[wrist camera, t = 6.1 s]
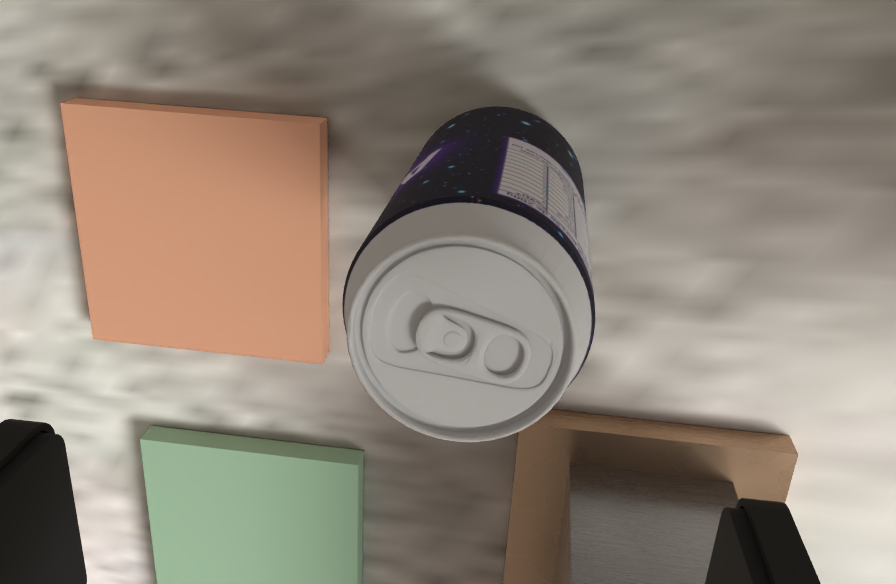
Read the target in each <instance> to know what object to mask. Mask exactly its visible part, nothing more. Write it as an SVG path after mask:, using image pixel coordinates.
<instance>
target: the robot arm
mask: <svg viewBox="0 0 896 584" xmlns="http://www.w3.org/2000/svg"><path fill="white" fill-rule="evenodd" d="M0 584H87V575H86V569H85V563H84V556H83V550H82V544H81V538H80V532H79V526H78V520H77V514H76V508H75V502H74V496H73V490H72V484H71V478H70V472H69V466H68V460H67V453H66V447H65V443H64V439H63V438H62V436H60V435H58V434H55V432H54V429H53V428H52V426H51V425H50V424H47V423H43V422H33V421H24V420H15V419H8V420H4V421H3V422H1V423H0ZM705 584H820V581H819V579H818V576H817V574H816V572H815V569H814V567H813V565H812V562H811V560H810V558H809V555H808V553H807V551H806V548H805V546H804V544H803V541H802V539H801V536H800V534H799V532H798V529H797V527H796V525H795V522H794V520H793V518H792V515H791V513H790V511H789V508H788V507H787V505H786V504H785V503H783V502H776V501H767V500H758V499H748V498H741V499H739V501H738V502H737V504H736V508H731V507H725V508H724V509H723V511H722V513H721V517H720V521H719V525H718V530H717V534H716V538H715V542H714V547H713V551H712V555H711V559H710V564H709V568H708V572H707V576H706V581H705Z"/></svg>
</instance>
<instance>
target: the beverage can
mask: <svg viewBox="0 0 896 584" xmlns="http://www.w3.org/2000/svg"><path fill="white" fill-rule="evenodd" d="M343 318H344V325H345V330H346V334H347V344H348V351H349V355H350V358H351V361H352V365H353V368H354V370H355V372H356V374H357V376H358V378H359V381H360V382H361V384H362V385H363V387H364V388H365V390H366V391H367V393H368V394H369V396H370V397H371V398H372V399H373V400H374V401H375V402H376V403H377V404H378V405H379V407H380V408H382V409H383V410H384V411H385V412H386V413H388V414H389V415H390V416H391V417H393V418H394V419H395V420H397V421H399V422H400V423H402V424H404V425H405V426H407V427H409V428H411V429H413V430H415V431H417V432H420V433H422V434H424V435H428V436H431V437H435V438H438V439H443V440H449V441H455V442H481V441H490V440H494V439H498V438H502V437H506V436H509V435H512V434H514V433H516V432H519V431H521V430H523V429H525V428H527V427H528V426H530V425H532V424H533V423H535V422H537V421H538V420H539V419H540V418H542V417H543V416H544V415H545V414H546V413H547V412H549V411H550V410H551V409H552V407H553V406H554V405H555V404H556V403H557V402H558V400H559V399H560V398H561V396H562V395H563V393H564V392H565V390H566V388H567V387H568V386H569V385H570V384H571V383H572V381H573V380H574V379H575V377H576V376H577V374H578V373H579V371H580V370H581V368H582V366H583V364H584V362H585V360H586V358H587V356H588V353H589V350H590V347H591V344H592V340H593V335H594V328H595V305H594V294H593V284H592V273H591V262H590V252H589V241H588V230H587V220H586V209H585V198H584V188H583V179H582V173H581V169H580V166H579V163H578V160H577V158H576V155H575V154H574V152H573V150H572V148H571V147H570V145H569V144H568V142H567V141H566V140H565V138H564V137H563V136H562V135H561V134H560V133H559V132H558V131H557V130H556V129H555V128H554V127H553V126H551V125H550V124H549V123H547V122H546V121H544V120H543V119H541V118H539V117H537V116H535V115H533V114H531V113H528V112H526V111H522V110H519V109H514V108H509V107H485V108H479V109H475V110H471V111H468V112H466V113H463V114H461V115H459V116H457V117H455V118H453V119H451V120H450V121H448V122H447V123H445V124H444V125H443V126H442V127H440V128H439V129H438V130H437V131H436V132H435V133H434V134H433V135H432V137H431V138H430V139H429V140H428V142H427V143H426V145H425V146H424V148H423V149H422V151H421V153H420V154H419V156H418V157H417V159H416V160H415V162H414V164H413V165H412V167H411V168H410V170H409V172H408V173H407V175H406V176H405V178H404V179H403V181H402V183H401V184H400V186H399V187H398V189H397V191H396V192H395V194H394V195H393V197H392V198H391V200H390V202H389V203H388V205H387V206H386V208H385V209H384V211H383V213H382V214H381V216H380V217H379V219H378V221H377V222H376V224H375V225H374V227H373V228H372V230H371V232H370V233H369V235H368V236H367V238H366V240H365V241H364V243H363V244H362V246H361V247H360V249H359V251H358V252H357V254H356V256H355V258H354V260H353V261H352V264H351V266H350V269H349V271H348V274H347V278H346V282H345V286H344V293H343Z"/></svg>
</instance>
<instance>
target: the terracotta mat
mask: <svg viewBox="0 0 896 584" xmlns="http://www.w3.org/2000/svg"><path fill="white" fill-rule="evenodd" d="M60 105H61V112H62V120H63V127H64V134H65V141H66V148H67V155H68V163H69V170H70V177H71V184H72V191H73V199H74V206H75V213H76V220H77V227H78V234H79V242H80V249H81V256H82V263H83V270H84V278H85V285H86V292H87V299H88V306H89V313H90V321H91V328H92V335H93V339H96V340H105V341H114V342H123V343H133V344H142V345H151V346H160V347H169V348H179V349H188V350H197V351H206V352H216V353H225V354H234V355H243V356H252V357H262V358H271V359H280V360H289V361H298V362H308V363H317V364H323V362H324V360H325V358H326V357H327V355H328V353H329V256H328V121H327V118H322V117H309V116H297V115H284V114H272V113H259V112H247V111H234V110H222V109H210V108H197V107H185V106H172V105H160V104H147V103H135V102H122V101H110V100H98V99H85V98H74V99H71V100H68V101H65V102H62V103H60Z"/></svg>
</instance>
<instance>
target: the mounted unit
mask: <svg viewBox="0 0 896 584" xmlns="http://www.w3.org/2000/svg"><path fill="white" fill-rule="evenodd" d="M797 457H798V453H797V451H796V449H795V447H794V444H793V442H792V440H791V438H790V436H786V435H777V434H768V433H759V432H750V431H741V430H732V429H723V428H714V427H705V426H695V425H686V424H677V423H668V422H659V421H650V420H641V419H632V418H623V417H614V416H605V415H596V414H587V413H578V412H569V411H560V410H550V411H549V412H547V413H546V414H545V415H544V416H543V417H542V418H540V419H539V420H538V421H537V422H535V423H533V424H532V425H530V426H528V427H527V428H525V429H523V430H521V431H519V432H518V441H517V451H516V461H515V470H514V480H513V490H512V499H511V509H510V519H509V528H508V538H507V547H506V557H505V567H504V576H503V584H705V581H706V576H707V572H708V568H709V564H710V559H711V555H712V551H713V547H714V542H715V538H716V534H717V530H718V525H719V521H720V517H721V513H722V511H723V509H724V508H725V507H731V508H736V504H737V502H738V501H739V499H741V498H748V499H758V500H767V501H776V502H783V503H785V501H786V497H787V494H788V490H789V486H790V483H791V479H792V475H793V472H794V468H795V464H796V461H797Z"/></svg>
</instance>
